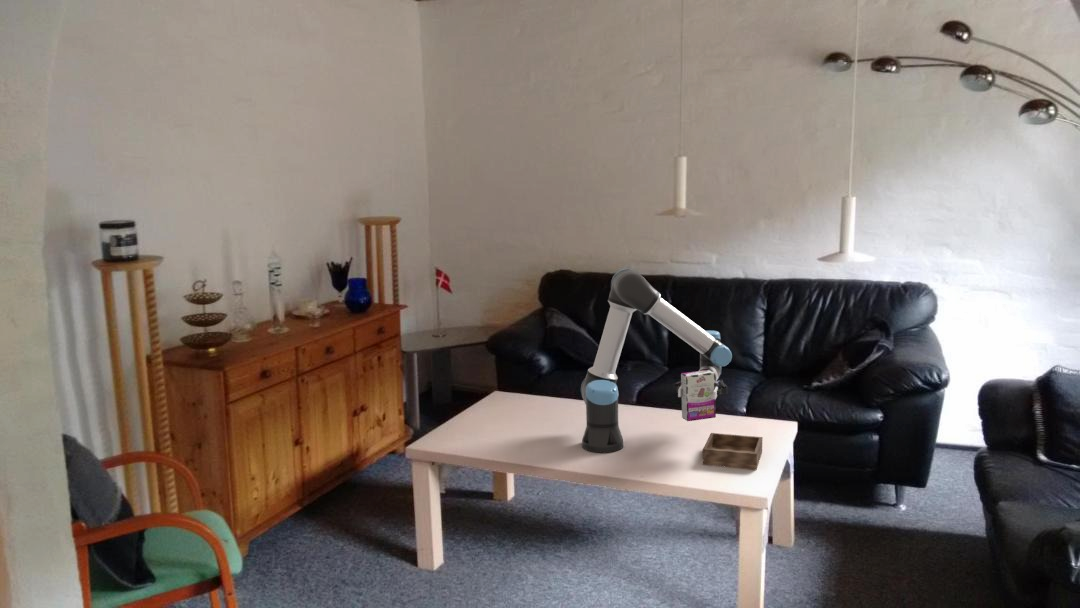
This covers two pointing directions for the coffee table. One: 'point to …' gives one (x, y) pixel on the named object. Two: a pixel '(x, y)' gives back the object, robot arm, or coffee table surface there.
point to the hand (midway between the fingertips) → (696, 394)
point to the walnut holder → (732, 451)
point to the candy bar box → (698, 395)
